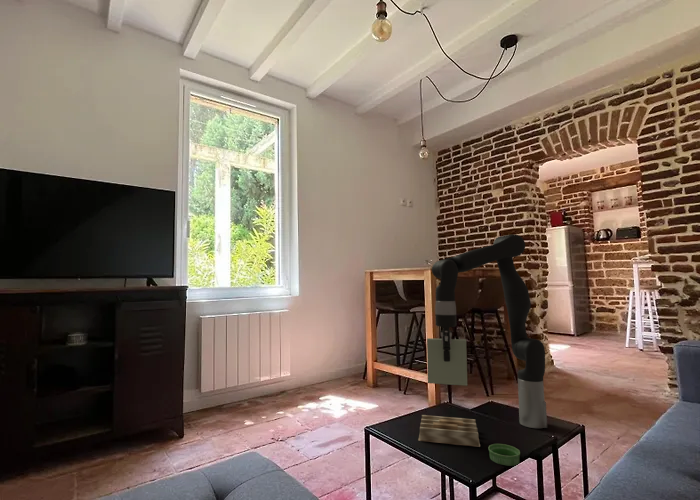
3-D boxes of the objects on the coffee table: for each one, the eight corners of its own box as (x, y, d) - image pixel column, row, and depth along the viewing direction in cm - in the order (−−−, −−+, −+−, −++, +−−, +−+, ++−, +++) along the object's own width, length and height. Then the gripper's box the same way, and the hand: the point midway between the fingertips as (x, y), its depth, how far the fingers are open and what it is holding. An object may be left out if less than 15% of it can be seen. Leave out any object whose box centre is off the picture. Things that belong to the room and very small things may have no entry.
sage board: (467, 384, 136) (465, 339, 138) (467, 385, 134) (466, 340, 136) (428, 381, 140) (427, 338, 141) (427, 383, 138) (427, 339, 139)
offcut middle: (463, 435, 131) (462, 420, 131) (463, 437, 129) (463, 422, 130) (439, 433, 133) (439, 418, 133) (439, 435, 131) (439, 420, 132)
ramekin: (525, 473, 108) (524, 457, 108) (492, 471, 109) (492, 455, 109) (515, 459, 117) (514, 444, 117) (485, 457, 118) (485, 442, 118)
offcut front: (457, 439, 127) (457, 424, 128) (457, 442, 125) (457, 426, 126) (433, 437, 129) (433, 422, 130) (433, 439, 127) (433, 424, 128)
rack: (477, 435, 135) (476, 419, 136) (480, 451, 122) (480, 433, 122) (420, 430, 140) (420, 414, 141) (418, 445, 127) (418, 428, 127)
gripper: (456, 314, 132) (458, 364, 130) (455, 312, 145) (456, 357, 144) (434, 314, 134) (436, 363, 132) (435, 312, 147) (436, 357, 145)
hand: (446, 360), depth 138 cm, fingers closed on sage board, 2 cm apart
